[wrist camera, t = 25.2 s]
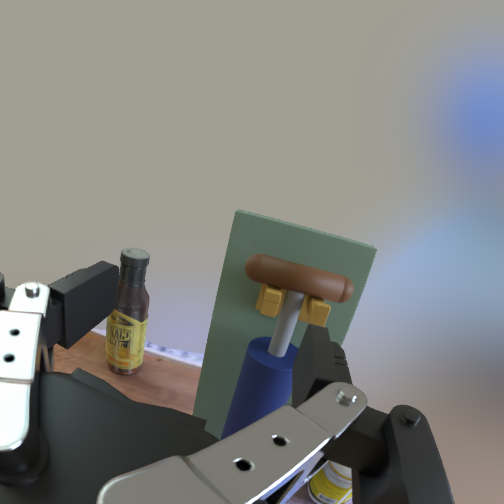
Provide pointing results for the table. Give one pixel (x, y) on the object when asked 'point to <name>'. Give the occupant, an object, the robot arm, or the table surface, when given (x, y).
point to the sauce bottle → (128, 315)
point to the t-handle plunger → (277, 338)
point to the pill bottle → (331, 484)
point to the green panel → (270, 301)
